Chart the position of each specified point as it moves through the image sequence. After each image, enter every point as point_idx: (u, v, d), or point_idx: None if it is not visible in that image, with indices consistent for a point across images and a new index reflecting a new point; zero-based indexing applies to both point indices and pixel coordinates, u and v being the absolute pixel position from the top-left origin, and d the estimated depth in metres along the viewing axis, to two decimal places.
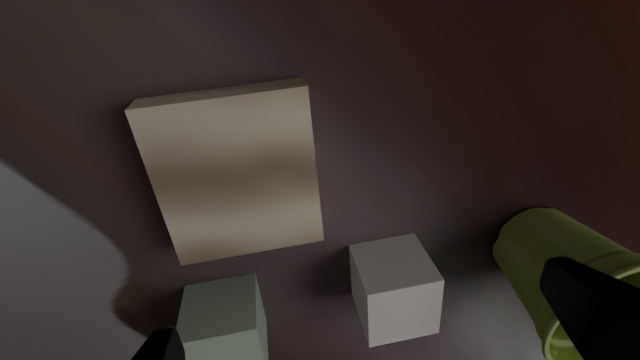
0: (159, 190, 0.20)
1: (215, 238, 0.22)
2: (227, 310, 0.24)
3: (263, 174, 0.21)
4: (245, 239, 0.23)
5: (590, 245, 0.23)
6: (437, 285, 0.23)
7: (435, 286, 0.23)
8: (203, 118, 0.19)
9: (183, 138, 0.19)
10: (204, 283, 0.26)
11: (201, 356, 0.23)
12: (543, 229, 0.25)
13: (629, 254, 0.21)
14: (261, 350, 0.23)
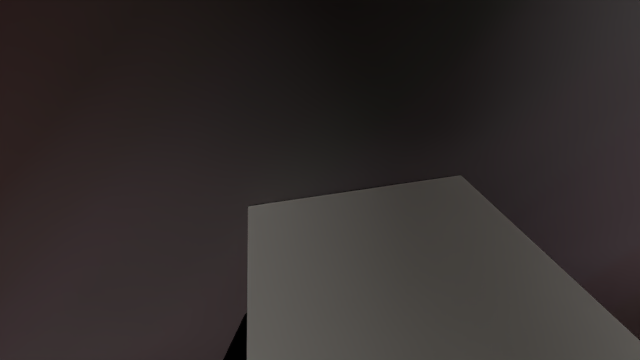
0: None
1: None
2: None
3: None
4: None
5: None
6: None
7: None
8: None
9: None
10: None
11: None
12: None
13: None
14: None
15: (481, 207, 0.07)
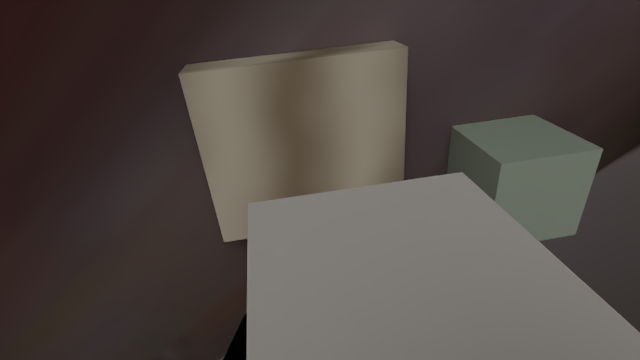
0: None
1: (374, 179, 0.19)
2: (474, 179, 0.19)
3: (295, 126, 0.17)
4: (383, 149, 0.19)
5: None
6: None
7: None
8: (227, 183, 0.18)
9: (250, 201, 0.19)
10: None
11: None
12: None
13: None
14: (544, 157, 0.17)
15: (482, 204, 0.07)
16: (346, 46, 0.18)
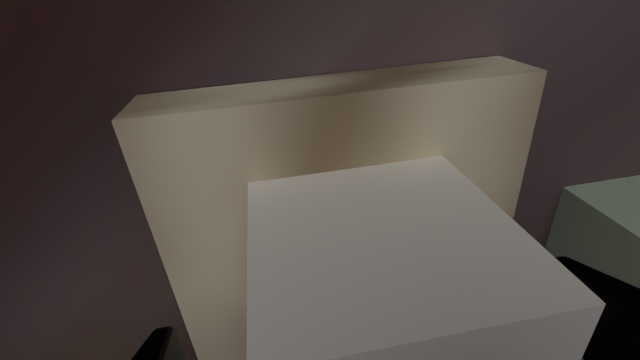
0: None
1: None
2: None
3: None
4: None
5: None
6: None
7: None
8: (211, 298, 0.10)
9: None
10: None
11: None
12: None
13: None
14: None
15: (458, 182, 0.08)
16: (421, 65, 0.10)
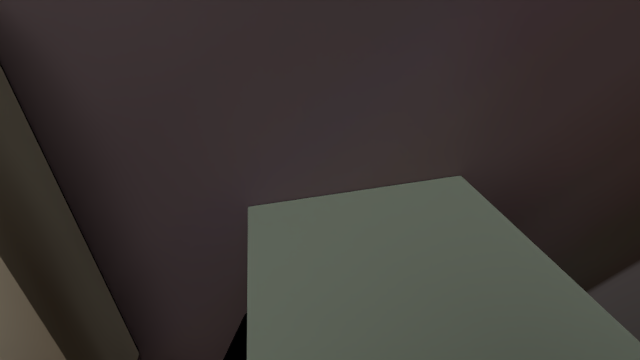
0: None
1: None
2: None
3: None
4: None
5: None
6: None
7: None
8: None
9: None
10: None
11: None
12: None
13: None
14: None
15: None
16: None
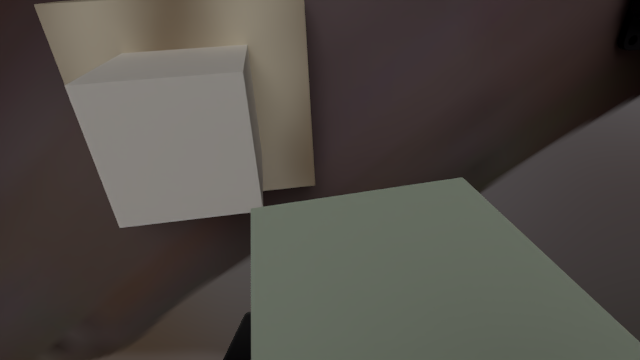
0: None
1: (279, 144, 0.18)
2: None
3: None
4: (285, 109, 0.17)
5: None
6: (82, 99, 0.11)
7: (86, 104, 0.11)
8: None
9: None
10: None
11: None
12: None
13: None
14: None
15: (239, 50, 0.14)
16: None
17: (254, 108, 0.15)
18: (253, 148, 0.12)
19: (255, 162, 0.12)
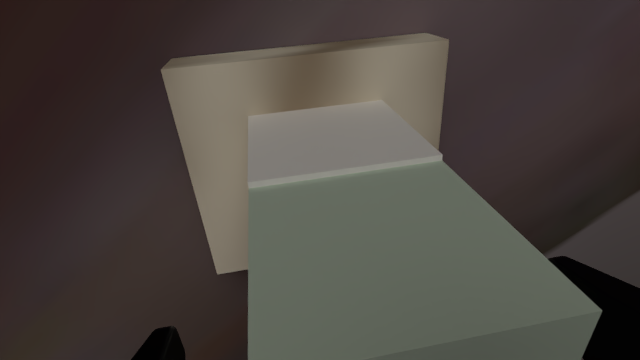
0: None
1: None
2: None
3: None
4: None
5: None
6: None
7: None
8: (222, 205, 0.15)
9: None
10: None
11: None
12: None
13: None
14: (406, 349, 0.05)
15: (386, 112, 0.13)
16: (369, 39, 0.14)
17: None
18: None
19: None
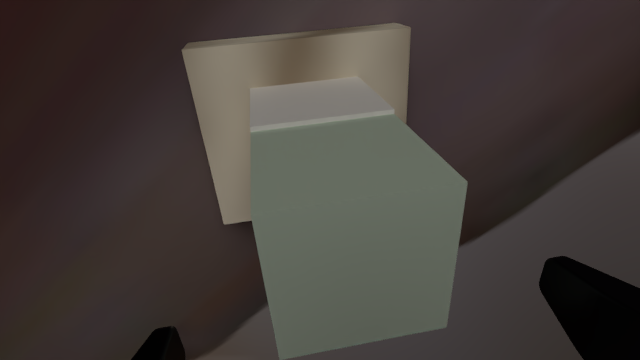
0: None
1: None
2: None
3: None
4: None
5: None
6: None
7: None
8: (229, 163, 0.18)
9: None
10: None
11: (326, 318, 0.10)
12: None
13: None
14: (345, 201, 0.08)
15: (359, 84, 0.16)
16: (348, 27, 0.18)
17: None
18: None
19: None
